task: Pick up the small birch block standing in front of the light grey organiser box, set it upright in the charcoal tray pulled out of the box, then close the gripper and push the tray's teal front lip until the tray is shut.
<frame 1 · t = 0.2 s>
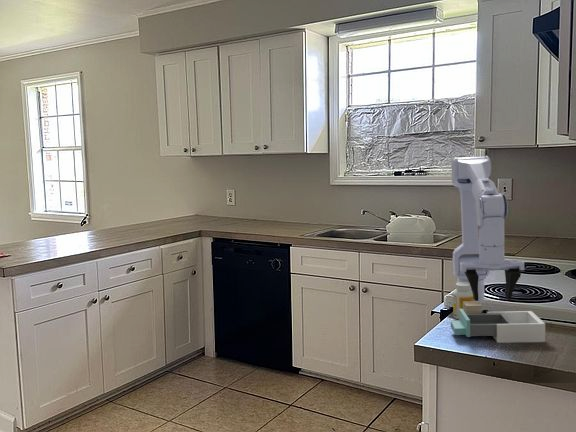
hand: (492, 299, 132), 10 cm above the worktop, tool pointing down, fingers open, 7 cm apart
birch block: (472, 325, 143), on the worktop
supplement bottle: (463, 318, 150), on the worktop
organiser box: (514, 335, 135), on the worktop
tray: (479, 322, 135), point 3 cm above the worktop, slide at 6.0 cm
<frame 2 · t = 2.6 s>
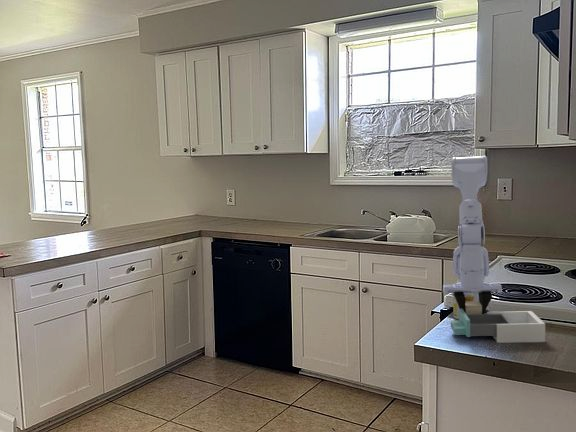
hand: (472, 319, 143), 2 cm above the worktop, tool pointing down, fingers closed on birch block, 4 cm apart
birch block: (472, 325, 143), on the worktop, touching gripper
everything else where it was.
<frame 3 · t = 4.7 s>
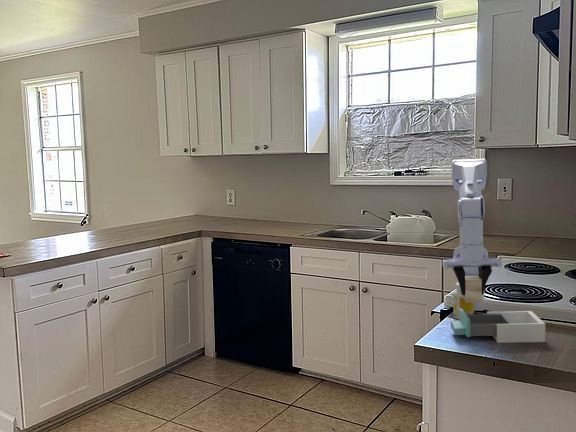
hand: (472, 294, 142), 8 cm above the worktop, tool pointing down, fingers closed on birch block, 4 cm apart
birch block: (472, 300, 143), point 7 cm above the worktop, touching gripper
everything else where it was.
when the fingers open (5 cm above the worktop, at t = 6.9 s): birch block drops 1 cm, resting on tray.
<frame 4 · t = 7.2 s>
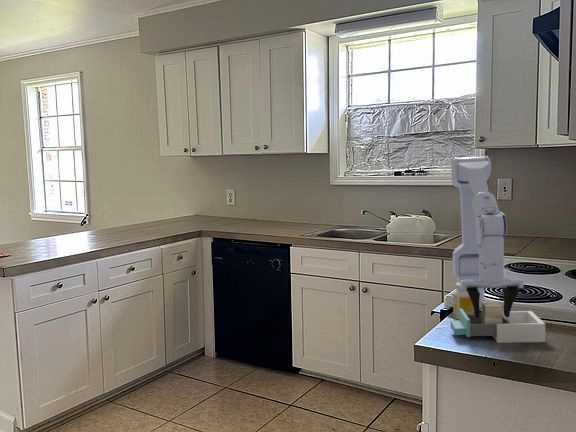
hand: (491, 316, 135), 5 cm above the worktop, tool pointing down, fingers open, 6 cm apart
birch block: (491, 326, 135), point 2 cm above the worktop, touching tray
tray: (479, 322, 135), point 4 cm above the worktop, slide at 6.0 cm, touching birch block
everything else where it was.
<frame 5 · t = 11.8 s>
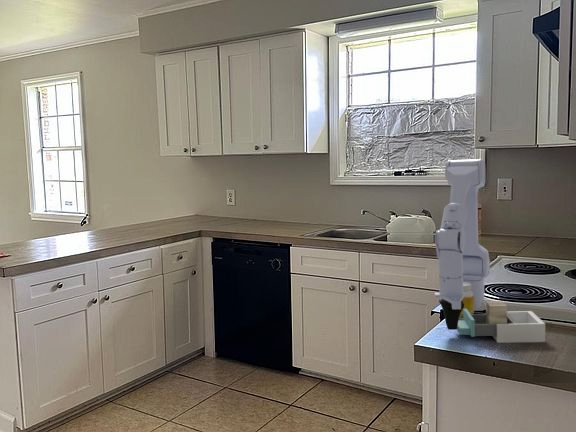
hand: (451, 328, 136), 2 cm above the worktop, tool pointing down, fingers closed, pressing on tray
birch block: (496, 326, 135), point 2 cm above the worktop, touching tray
tray: (483, 322, 135), point 4 cm above the worktop, slide at 4.9 cm, touching birch block, gripper
everything else where it was.
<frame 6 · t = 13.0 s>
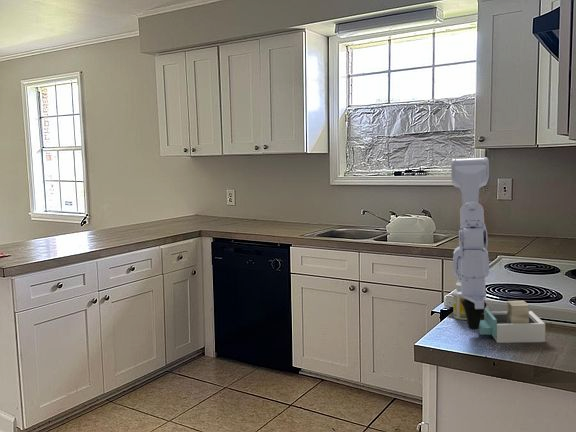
hand: (473, 328, 136), 2 cm above the worktop, tool pointing down, fingers closed, pressing on tray
birch block: (517, 326, 134), point 2 cm above the worktop, touching tray
tray: (505, 321, 134), point 4 cm above the worktop, slide at -0.2 cm, touching birch block, gripper, organiser box
everything else where it was.
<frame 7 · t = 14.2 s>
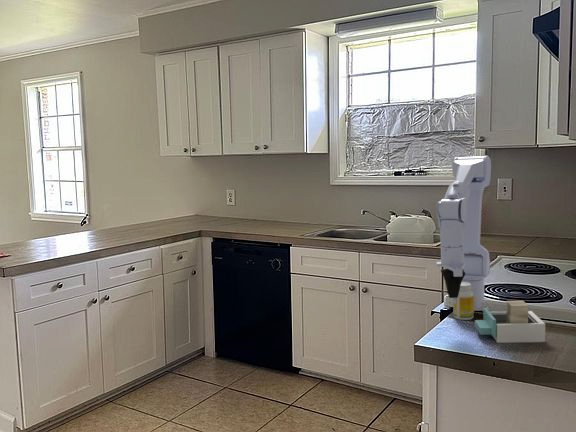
hand: (453, 297, 140), 9 cm above the worktop, tool pointing down, fingers closed
tray: (504, 321, 134), point 4 cm above the worktop, slide at 0.0 cm, touching birch block
everything else where it was.
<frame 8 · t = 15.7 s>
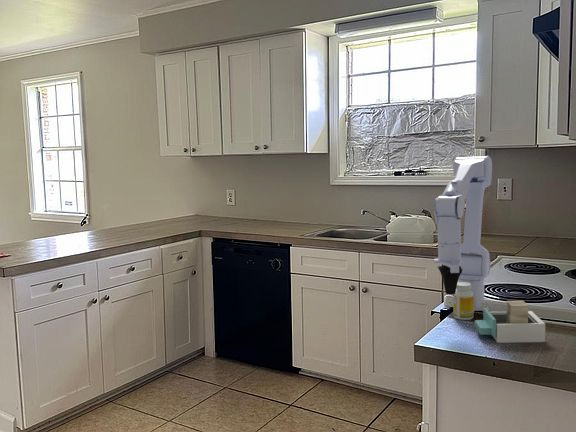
hand: (450, 293, 140), 9 cm above the worktop, tool pointing down, fingers closed
nothing on the worktop moved.
at the end: tray slide at 0.0 cm; birch block inside the target area (0.5 cm from its centre), point 2.2 cm above the worktop; birch block tilted 0° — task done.
